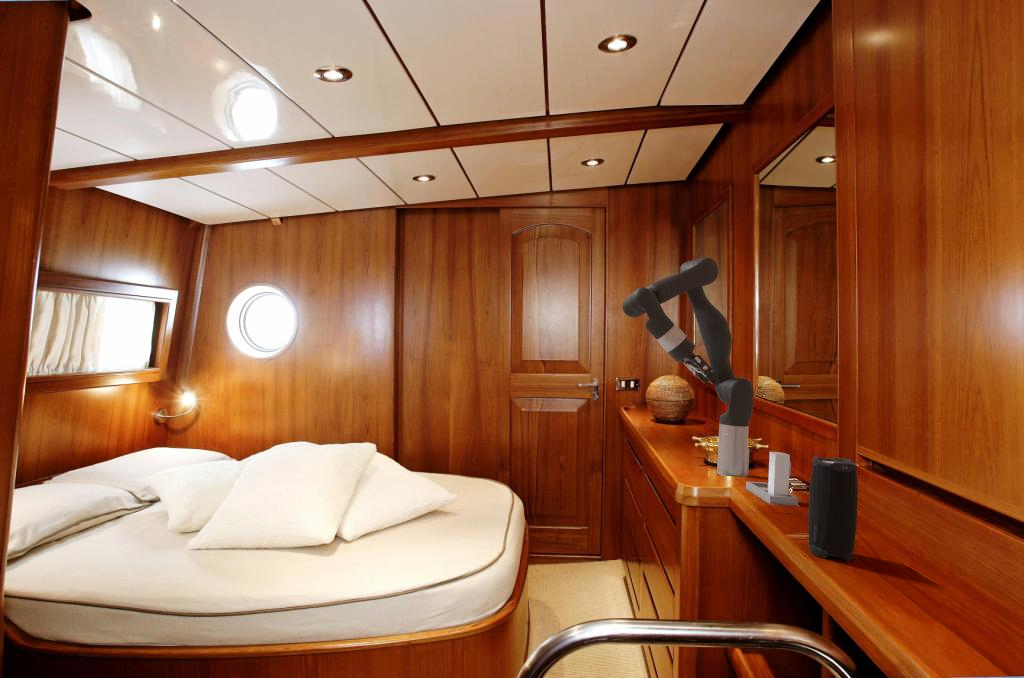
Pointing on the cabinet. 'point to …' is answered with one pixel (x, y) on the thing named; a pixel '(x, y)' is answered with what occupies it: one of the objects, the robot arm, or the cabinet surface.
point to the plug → (779, 473)
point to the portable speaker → (833, 507)
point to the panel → (762, 492)
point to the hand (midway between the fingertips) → (712, 382)
